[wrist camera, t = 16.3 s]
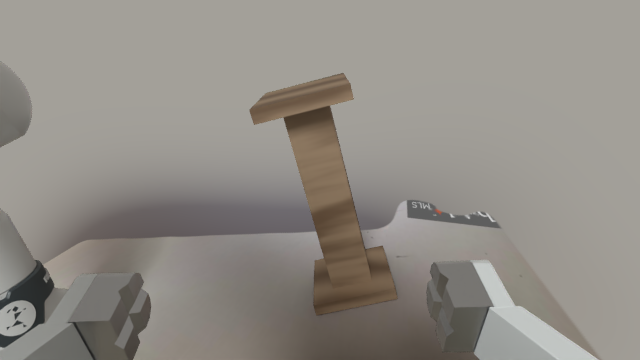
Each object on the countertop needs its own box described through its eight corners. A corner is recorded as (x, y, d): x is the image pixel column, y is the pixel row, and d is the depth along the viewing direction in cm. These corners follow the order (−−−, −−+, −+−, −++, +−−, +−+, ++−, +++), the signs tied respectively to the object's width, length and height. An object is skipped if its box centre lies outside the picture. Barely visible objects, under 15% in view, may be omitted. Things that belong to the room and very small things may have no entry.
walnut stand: (399, 304, 45) (350, 83, 36) (316, 321, 46) (249, 109, 37) (383, 250, 56) (343, 72, 48) (317, 265, 57) (266, 93, 48)
